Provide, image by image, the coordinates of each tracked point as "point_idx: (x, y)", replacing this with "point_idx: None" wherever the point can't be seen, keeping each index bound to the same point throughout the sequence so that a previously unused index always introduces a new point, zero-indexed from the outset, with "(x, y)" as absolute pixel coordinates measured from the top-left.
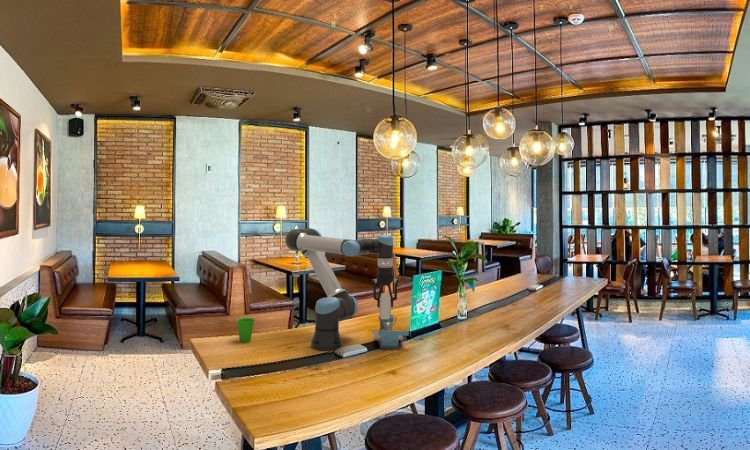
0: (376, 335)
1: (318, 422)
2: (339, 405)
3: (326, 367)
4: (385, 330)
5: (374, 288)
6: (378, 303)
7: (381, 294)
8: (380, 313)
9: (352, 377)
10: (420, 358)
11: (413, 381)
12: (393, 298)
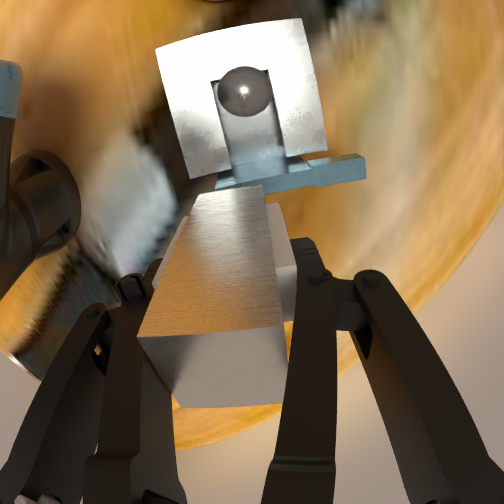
0: (187, 133)
1: (207, 444)
2: (215, 429)
3: None
4: (239, 184)
5: (79, 452)
6: None
7: (178, 398)
8: None
9: None
10: (368, 244)
11: None
12: (338, 323)
